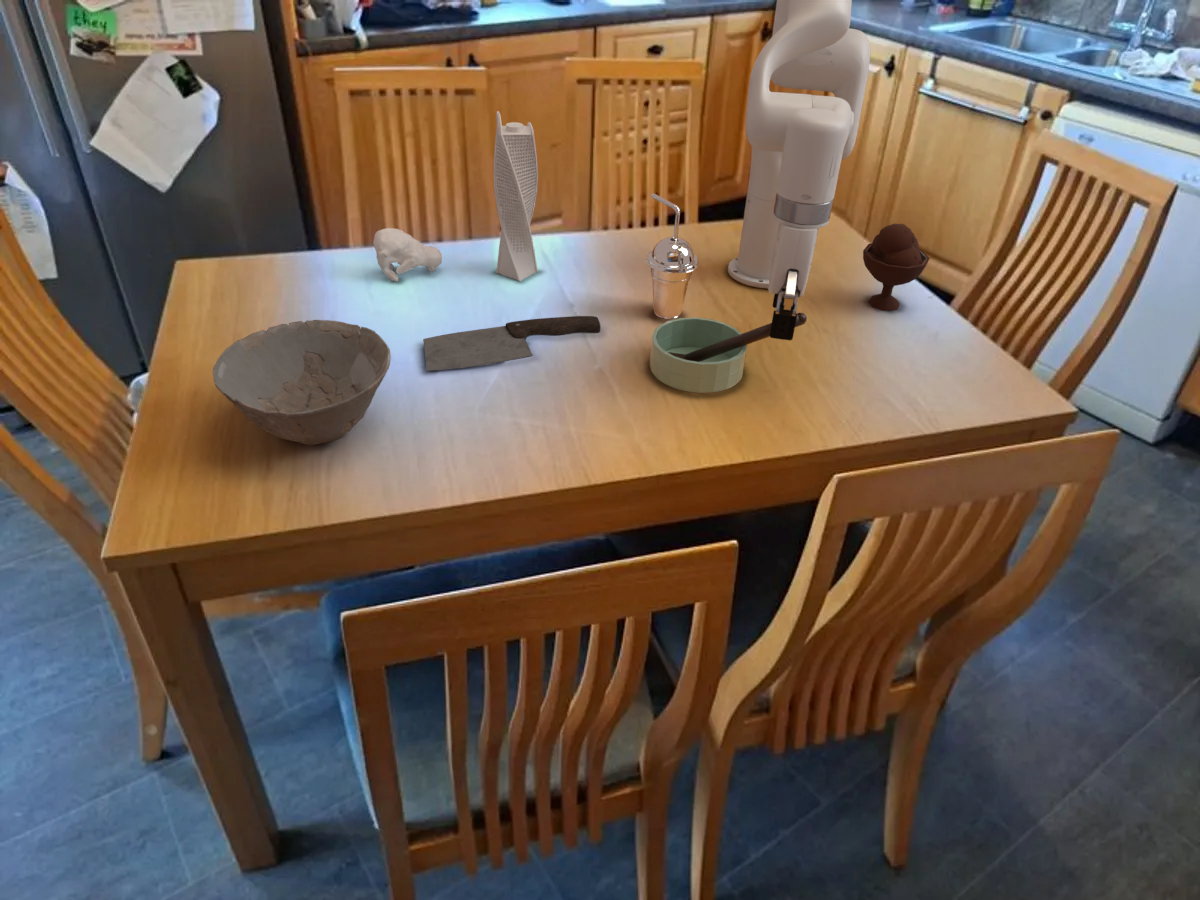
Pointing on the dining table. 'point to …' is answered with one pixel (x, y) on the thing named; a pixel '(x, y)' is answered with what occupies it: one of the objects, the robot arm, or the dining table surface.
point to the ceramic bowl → (304, 378)
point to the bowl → (692, 337)
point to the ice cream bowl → (893, 262)
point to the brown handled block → (734, 342)
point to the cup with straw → (670, 270)
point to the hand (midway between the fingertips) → (781, 322)
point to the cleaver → (498, 341)
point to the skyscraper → (515, 197)
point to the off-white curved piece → (403, 252)
